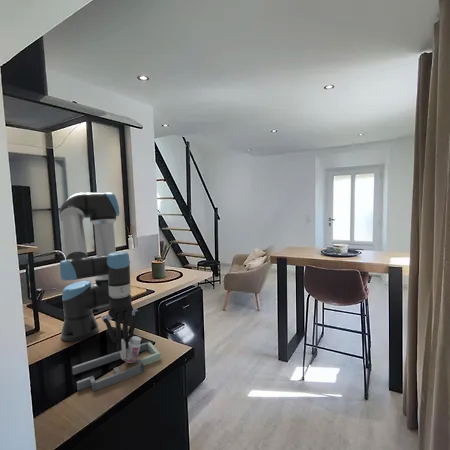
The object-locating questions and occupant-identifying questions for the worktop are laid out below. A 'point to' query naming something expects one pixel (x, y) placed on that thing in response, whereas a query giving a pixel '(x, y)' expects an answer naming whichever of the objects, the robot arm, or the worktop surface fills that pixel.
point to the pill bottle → (133, 349)
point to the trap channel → (117, 374)
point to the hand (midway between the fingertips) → (123, 357)
